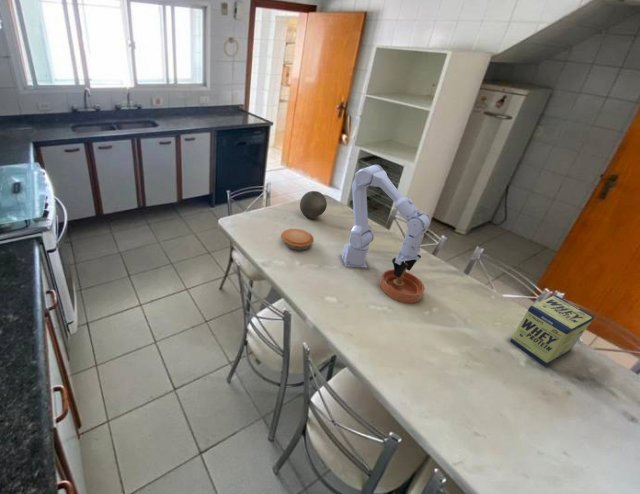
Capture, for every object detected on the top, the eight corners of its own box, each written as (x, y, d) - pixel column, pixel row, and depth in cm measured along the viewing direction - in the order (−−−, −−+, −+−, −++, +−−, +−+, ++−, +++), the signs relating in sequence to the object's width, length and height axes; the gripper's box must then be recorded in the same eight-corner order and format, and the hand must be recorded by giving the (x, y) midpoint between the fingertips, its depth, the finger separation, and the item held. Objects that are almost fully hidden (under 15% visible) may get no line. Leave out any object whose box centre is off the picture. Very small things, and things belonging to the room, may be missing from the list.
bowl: (387, 302, 123) (390, 293, 121) (374, 276, 137) (377, 268, 135) (428, 305, 123) (431, 296, 121) (411, 279, 136) (414, 270, 134)
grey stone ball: (298, 221, 176) (301, 196, 169) (298, 209, 189) (301, 185, 182) (324, 224, 174) (329, 199, 168) (323, 212, 187) (327, 188, 180)
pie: (317, 241, 159) (319, 232, 157) (305, 256, 147) (306, 247, 145) (288, 231, 166) (289, 223, 164) (274, 245, 154) (275, 236, 152)
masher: (394, 288, 130) (401, 266, 125) (391, 281, 133) (397, 260, 129) (404, 288, 130) (412, 267, 125) (400, 282, 133) (408, 261, 129)
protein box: (508, 341, 109) (529, 306, 102) (534, 327, 115) (555, 293, 108) (544, 367, 101) (569, 330, 94) (571, 351, 107) (596, 315, 100)
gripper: (412, 255, 116) (402, 285, 122) (431, 242, 124) (421, 271, 130) (393, 245, 121) (384, 275, 127) (413, 234, 129) (404, 262, 135)
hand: (402, 272), depth 129 cm, fingers open, 7 cm apart
